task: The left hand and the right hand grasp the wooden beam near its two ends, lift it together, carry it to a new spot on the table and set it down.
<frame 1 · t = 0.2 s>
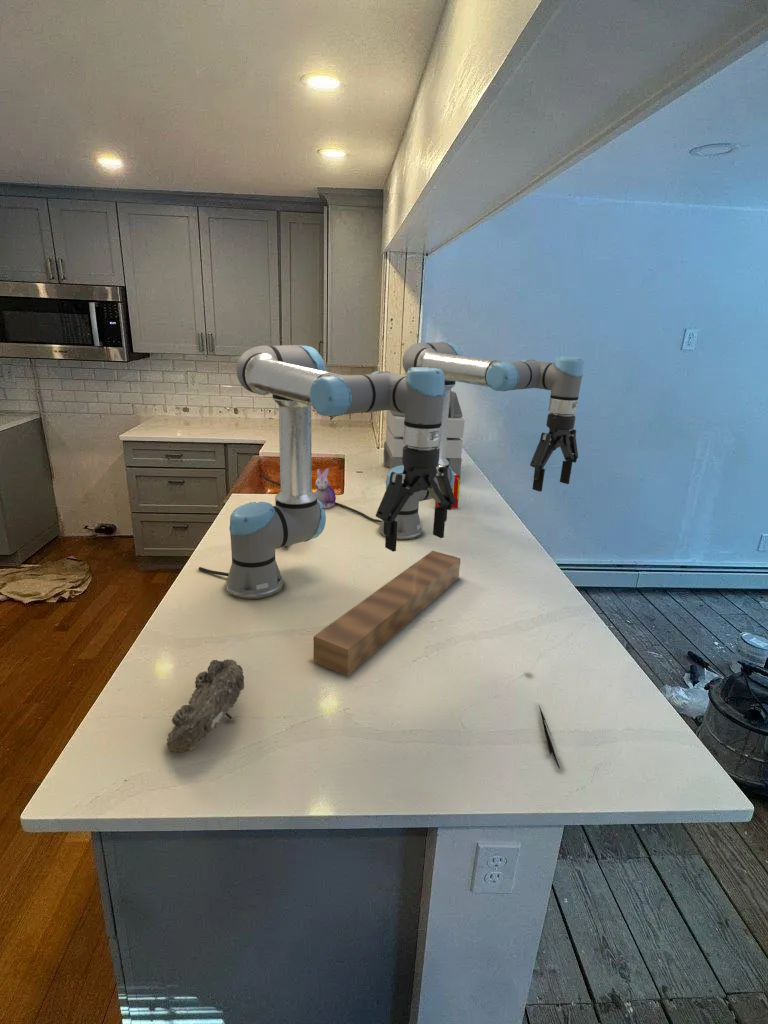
left hand: (415, 542, 122), 27 cm above the counter, tool pointing down, fingers open, 13 cm apart
right hand: (551, 486, 166), 28 cm above the counter, tool pointing down, fingers open, 13 cm apart
figurine character: (284, 541, 189), on the counter
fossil: (212, 717, 108), on the counter
feather: (541, 718, 112), on the counter
figurine: (324, 505, 224), on the counter
toy: (441, 497, 240), on the counter
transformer: (419, 473, 275), on the counter
wooden beam: (396, 613, 148), on the counter
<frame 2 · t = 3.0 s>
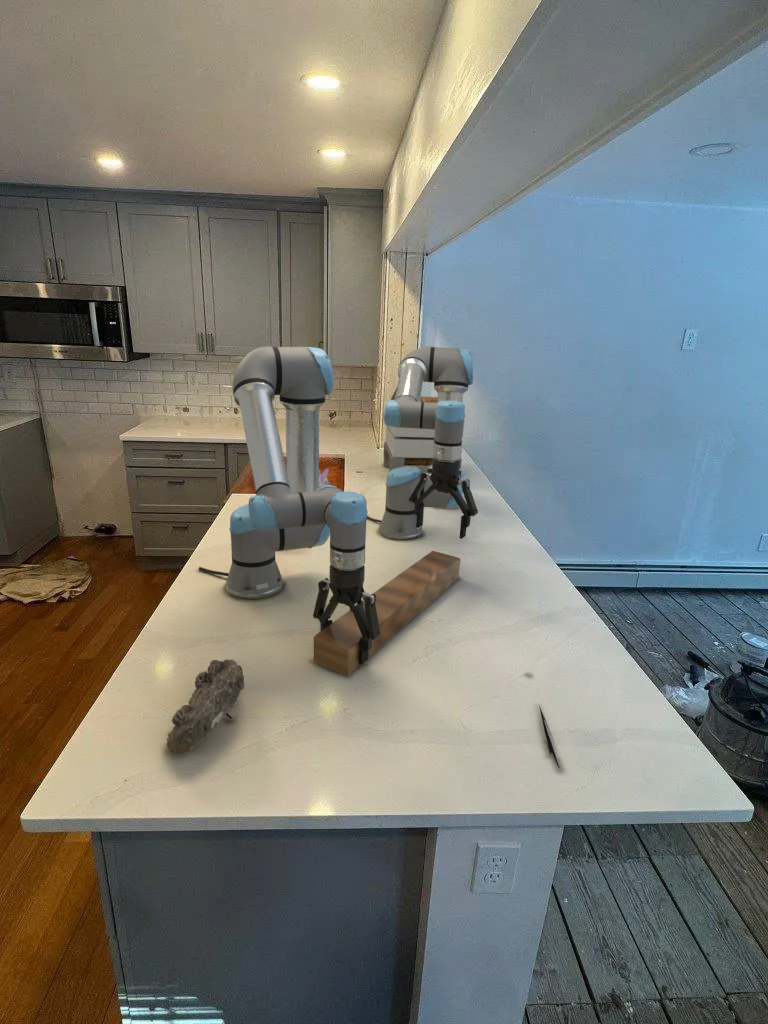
left hand: (345, 654, 129), 1 cm above the counter, tool pointing down, fingers closed on wooden beam, 9 cm apart
right hand: (440, 531, 161), 16 cm above the counter, tool pointing down, fingers open, 13 cm apart
wooden beam: (396, 613, 148), on the counter, touching left hand
everything else where it was.
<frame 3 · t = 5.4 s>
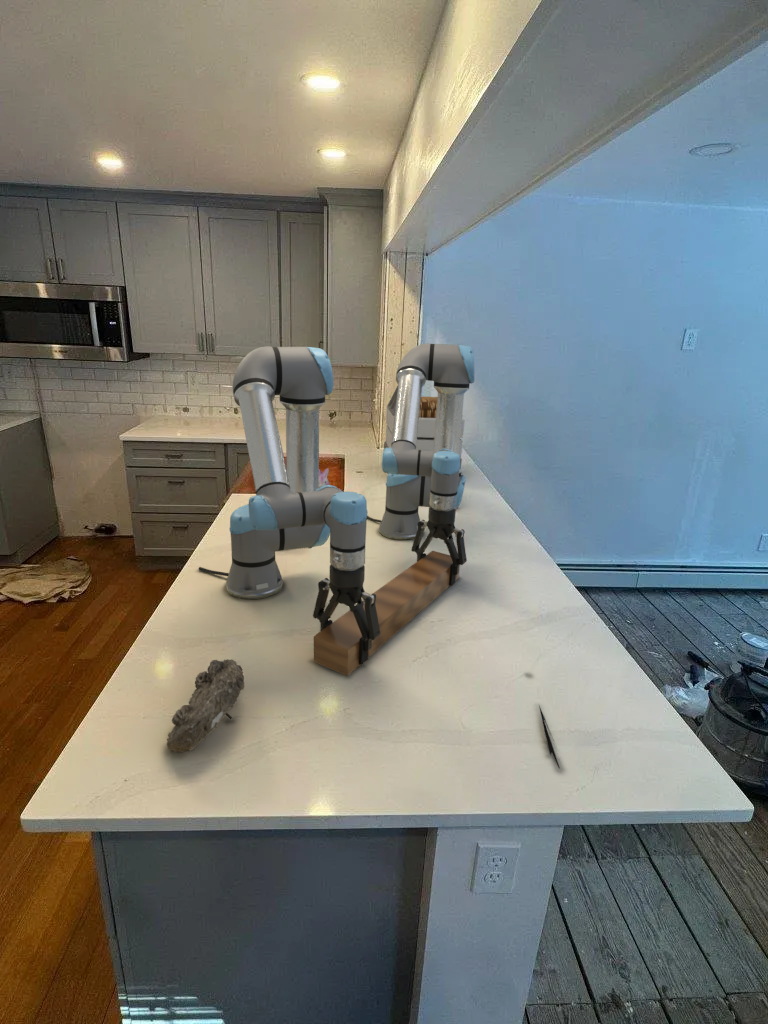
left hand: (345, 654, 129), 1 cm above the counter, tool pointing down, fingers closed on wooden beam, 9 cm apart
right hand: (436, 579, 166), 1 cm above the counter, tool pointing down, fingers closed on wooden beam, 9 cm apart
wooden beam: (396, 613, 148), on the counter, touching right hand, left hand
everything else where it was.
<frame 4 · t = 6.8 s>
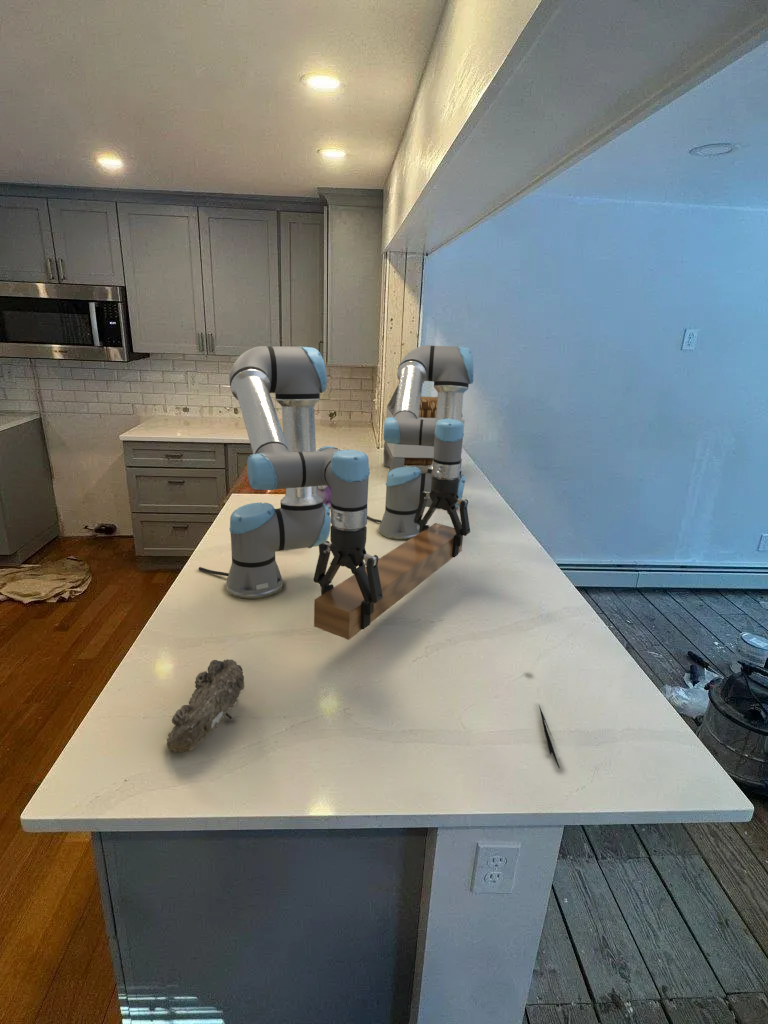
left hand: (346, 619, 125), 10 cm above the counter, tool pointing down, fingers closed on wooden beam, 9 cm apart
right hand: (439, 551, 163), 10 cm above the counter, tool pointing down, fingers closed on wooden beam, 9 cm apart
wooden beam: (398, 583, 144), point 9 cm above the counter, touching right hand, left hand
everything else where it was.
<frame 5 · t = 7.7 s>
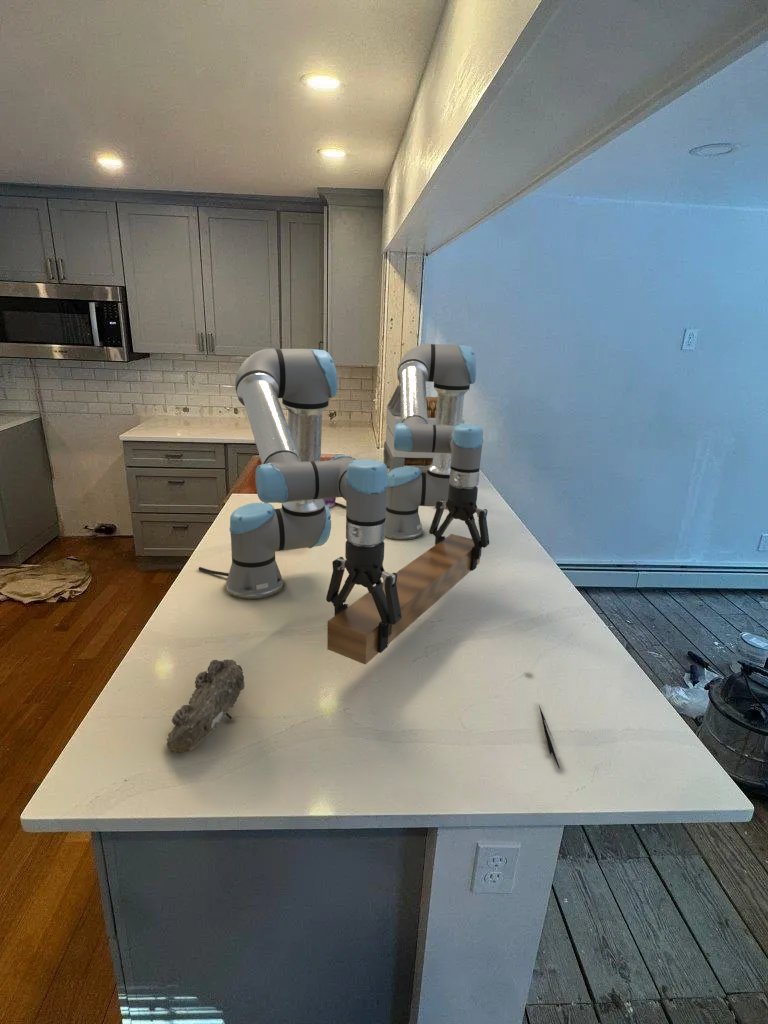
left hand: (361, 641, 116), 10 cm above the counter, tool pointing down, fingers closed on wooden beam, 9 cm apart
right hand: (456, 564, 154), 10 cm above the counter, tool pointing down, fingers closed on wooden beam, 9 cm apart
wooden beam: (415, 599, 135), point 10 cm above the counter, touching right hand, left hand
everything else where it was.
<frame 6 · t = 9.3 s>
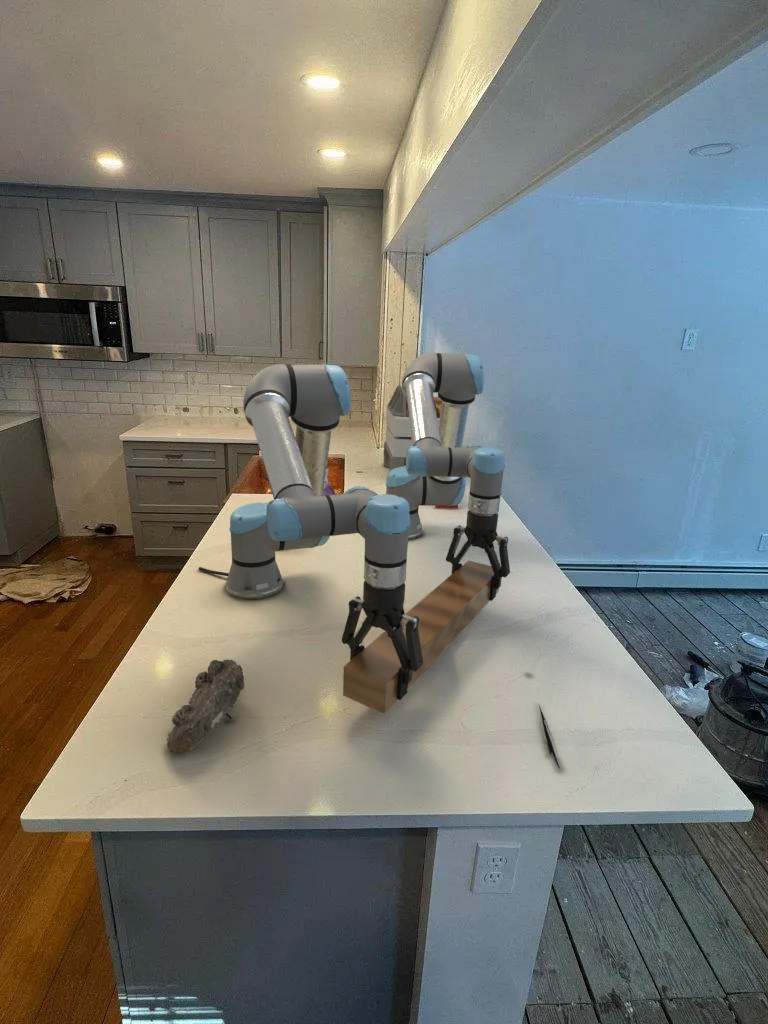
left hand: (379, 686, 109), 6 cm above the counter, tool pointing down, fingers closed on wooden beam, 9 cm apart
right hand: (474, 593, 147), 6 cm above the counter, tool pointing down, fingers closed on wooden beam, 9 cm apart
wooden beam: (433, 634, 128), point 6 cm above the counter, touching right hand, left hand
everything else where it was.
when the right hand's fingers open (2 cm above the counter, at t = 10.4 s): wooden beam stays where it is, on the counter.
when the left hand's fingers open (2 cm above the counter, at t = 10.5 s): wooden beam stays where it is, on the counter.
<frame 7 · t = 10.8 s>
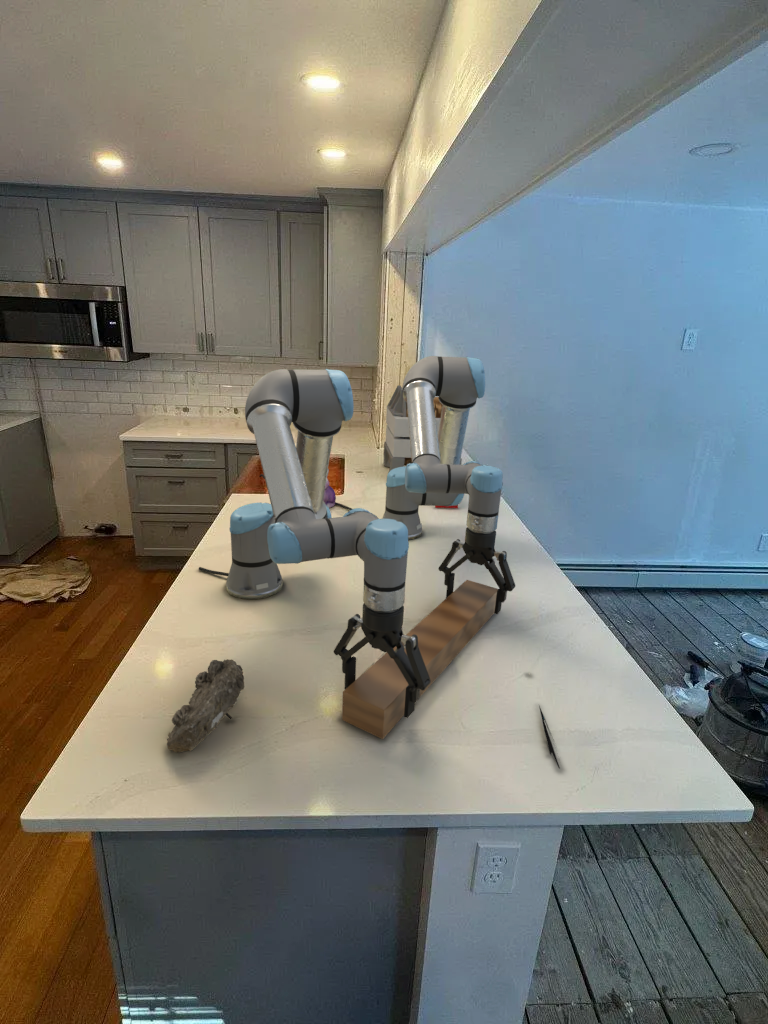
left hand: (378, 700, 110), 3 cm above the counter, tool pointing down, fingers open, 13 cm apart
right hand: (472, 604, 148), 3 cm above the counter, tool pointing down, fingers open, 13 cm apart
wooden beam: (431, 656, 130), on the counter
everything else where it was.
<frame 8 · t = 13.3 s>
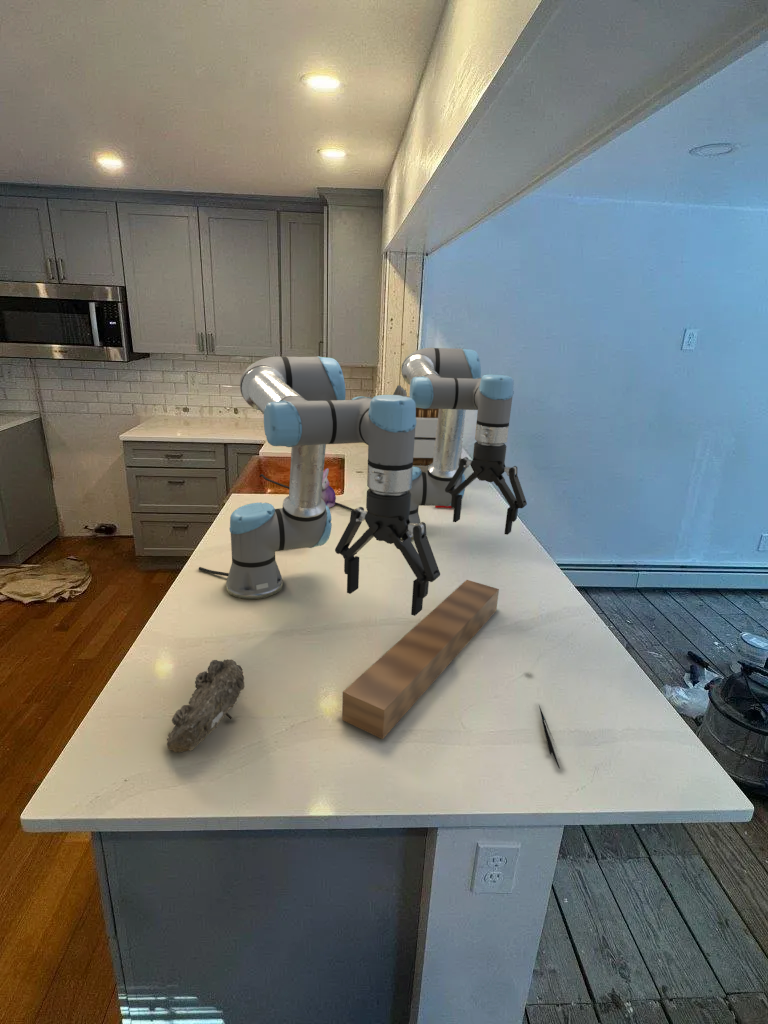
left hand: (383, 601, 103), 25 cm above the counter, tool pointing down, fingers open, 13 cm apart
right hand: (481, 526, 140), 25 cm above the counter, tool pointing down, fingers open, 13 cm apart
nothing on the counter moved.
at the end: wooden beam inside the target area (0.1 cm from its centre), on the counter; wooden beam tilted 0°; wooden beam never tilted more than 1° during the clip; both hands held the wooden beam at the same time; the left hand is holding nothing; the right hand is holding nothing; wooden beam at rest at the end (0.0 cm/s) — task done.
